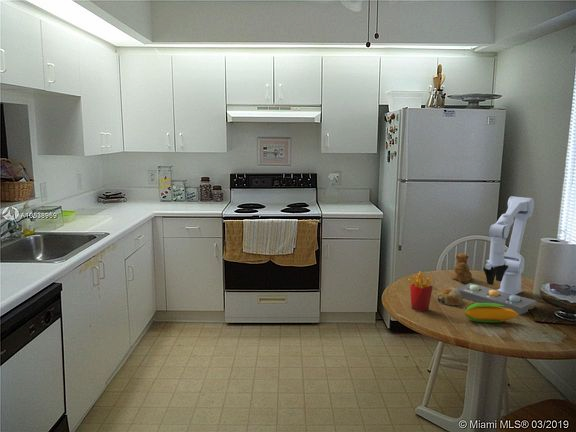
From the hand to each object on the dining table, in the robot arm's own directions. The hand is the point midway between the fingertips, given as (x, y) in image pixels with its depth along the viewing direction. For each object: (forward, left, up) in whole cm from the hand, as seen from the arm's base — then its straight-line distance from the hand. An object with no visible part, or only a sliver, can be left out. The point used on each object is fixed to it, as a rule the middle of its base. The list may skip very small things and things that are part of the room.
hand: (494, 282), depth 204 cm
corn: (+23, +11, -9) cm, 27 cm away
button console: (0, 0, -8) cm, 8 cm away
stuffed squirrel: (-17, -25, -9) cm, 32 cm away
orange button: (0, 0, -7) cm, 7 cm away
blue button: (0, +9, -7) cm, 11 cm away
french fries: (+34, -15, -9) cm, 38 cm away
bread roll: (+16, -11, -9) cm, 21 cm away
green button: (0, -9, -7) cm, 11 cm away
